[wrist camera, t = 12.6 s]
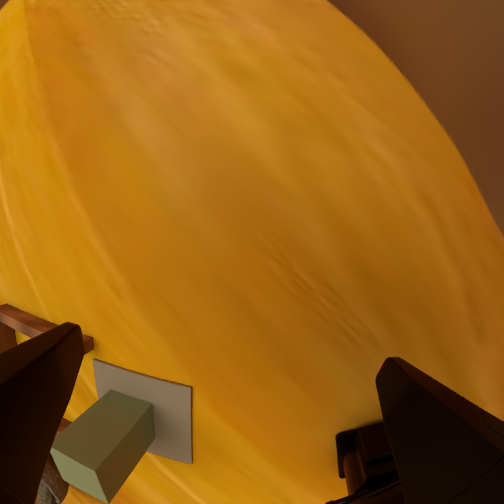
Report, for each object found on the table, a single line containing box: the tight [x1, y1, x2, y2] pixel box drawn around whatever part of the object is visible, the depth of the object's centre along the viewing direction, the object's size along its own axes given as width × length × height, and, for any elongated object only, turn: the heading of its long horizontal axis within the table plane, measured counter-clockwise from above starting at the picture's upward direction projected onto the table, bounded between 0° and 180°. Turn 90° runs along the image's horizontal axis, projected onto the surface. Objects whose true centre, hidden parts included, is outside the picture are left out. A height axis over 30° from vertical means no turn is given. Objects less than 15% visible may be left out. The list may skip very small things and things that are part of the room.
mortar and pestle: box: [38, 453, 69, 504], centre depth 20 cm, size 11×9×12 cm
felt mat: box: [93, 358, 193, 464], centre depth 22 cm, size 10×10×1 cm
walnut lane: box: [0, 304, 94, 436], centre depth 22 cm, size 15×14×5 cm
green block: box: [50, 389, 156, 504], centre depth 17 cm, size 4×4×10 cm
